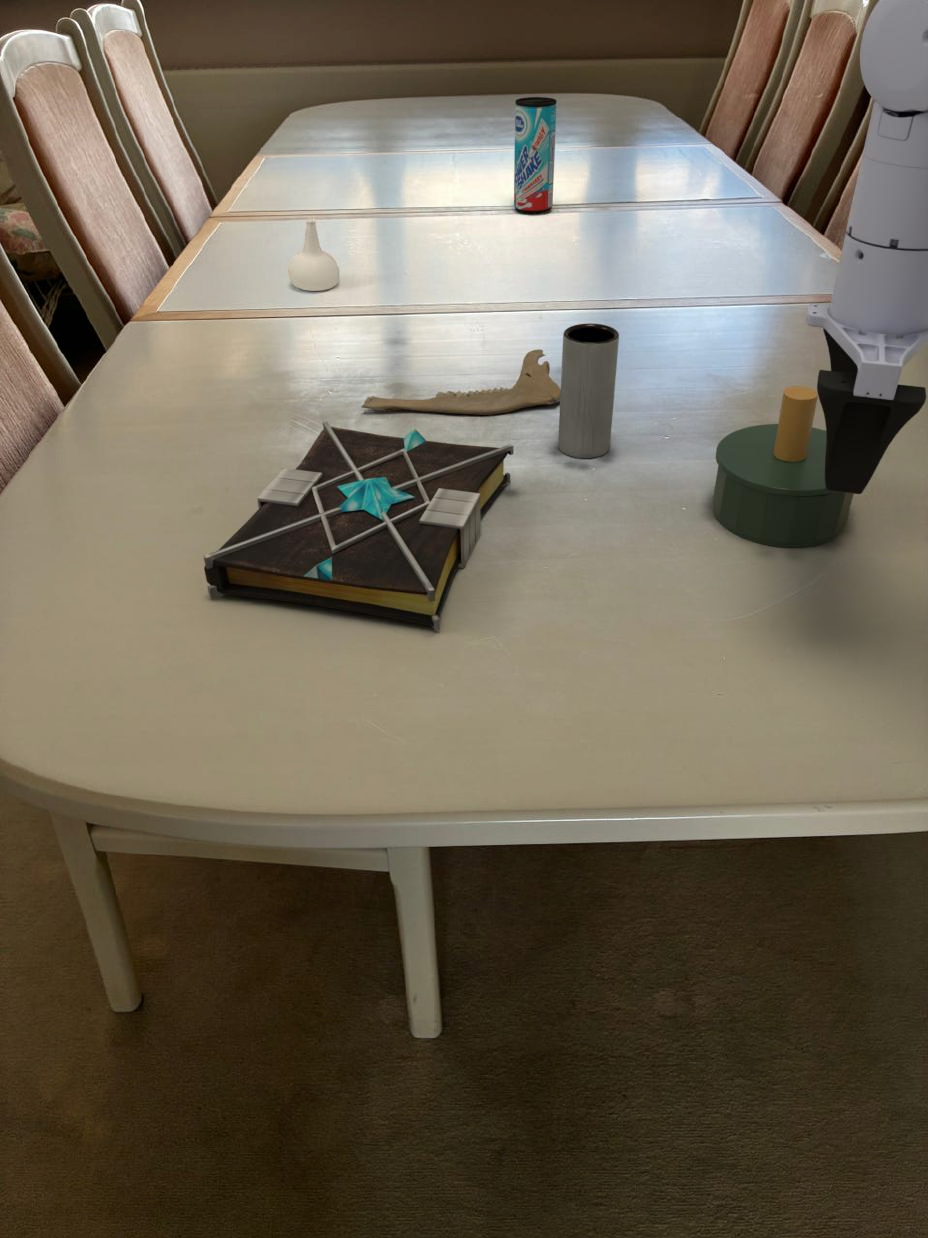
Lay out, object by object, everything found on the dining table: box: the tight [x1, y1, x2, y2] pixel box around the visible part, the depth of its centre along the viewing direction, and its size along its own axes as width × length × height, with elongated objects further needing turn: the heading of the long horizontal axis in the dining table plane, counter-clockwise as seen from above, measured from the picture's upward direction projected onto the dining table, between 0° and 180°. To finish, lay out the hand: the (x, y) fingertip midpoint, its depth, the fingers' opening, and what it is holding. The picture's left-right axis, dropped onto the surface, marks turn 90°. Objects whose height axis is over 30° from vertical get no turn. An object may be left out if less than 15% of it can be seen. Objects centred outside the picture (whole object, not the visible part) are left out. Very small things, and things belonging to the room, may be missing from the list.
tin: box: [711, 465, 855, 549], centre depth 74 cm, size 10×10×4 cm
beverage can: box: [513, 96, 558, 216], centre depth 142 cm, size 6×6×15 cm
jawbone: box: [360, 348, 561, 416], centre depth 91 cm, size 9×20×2 cm, turn 119°
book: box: [202, 420, 514, 632], centre depth 72 cm, size 22×17×5 cm
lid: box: [715, 385, 838, 496], centre depth 71 cm, size 11×11×6 cm
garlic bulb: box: [287, 218, 340, 292], centre depth 118 cm, size 6×6×8 cm
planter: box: [557, 323, 620, 459], centre depth 81 cm, size 4×4×10 cm
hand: (844, 460), depth 60 cm, fingers open, 7 cm apart
